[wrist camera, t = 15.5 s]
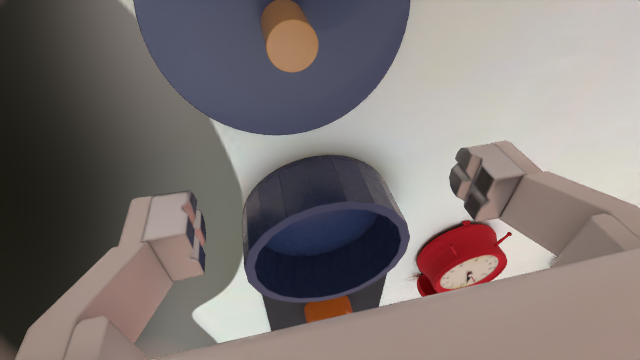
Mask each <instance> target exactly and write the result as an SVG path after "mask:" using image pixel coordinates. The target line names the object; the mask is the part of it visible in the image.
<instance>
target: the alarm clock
mask: <svg viewBox="0 0 640 360" xmlns="http://www.w3.org/2000/svg"><path fill="white" fill-rule="evenodd" d="M462 223H463V226H462V227H458V228H455V229H453V230H450V231H448V232H446V233H444V234H442V235H440V236H439V237H437V238H436V239H434V240H433V241H431V242H430V243H429V244H428V245H427V246H426V247H425V248H424V249H423V250H422V251H421V253H420V254H419V256H418V258H417V266H418V268H419V270H420V271H421V272H422V273H423V274H422V275H421V276H420V277H419V278H418V280H417V288H418V291H419V293H420V294H421V296H422V297H425V296H429V295H433V294H438V293H442V292H447V291H451V290H455V289H460V288H464V287H469V286H473V285H478V284H482V283H486V282H490V281H491V280H493V279H494V278H496V277H497V276H498V275H499V274H500V273H501V272H502V271H503V270H504V268H505V267H506V265H507V259H506V255H505V254H504V252H503V251H502V250H501V249H500V247H499V246H498V245H499V244H500V243H501V242H502V241H503V240H504V239H505V238H507V237H508V236H511V235H512V234H511V233H510V232H508V233H507V235H506V236H505V237H503V238H502V239H500V240H499V241H498V242H497V237H496V233H495V232H494V230H493V229H492V228H491V227H489V226H487V225H483V224H471V225H470V223H471V222H470V221H469V220H468V221H463V222H462Z"/></svg>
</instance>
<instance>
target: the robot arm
mask: <svg viewBox="0 0 640 360" xmlns="http://www.w3.org/2000/svg"><path fill="white" fill-rule="evenodd" d="M455 159H456V161H457V162H458V163H457V164H456V165H455V166H454V167H453V168H452V169H451V173H450V176H449V179H450V186H451V189H452V191H453V193H454V194H455V195H456V197H458V198H460V199H462V200H464V208H465V209H466V210H467V212H468V213H469V214H470V216H471V217H472V218H473V220H474V221H475V222H478V221H484V220H490V219H496V218H500V220H502V221H503V222H505V223H506V224H508V225H509V226H511V227H513V228H514V229H516V230H517V231H519V232H520V233H522V234H524V235H525V236H527V237H528V238H530V239H531V240H533V241H535V242H536V243H538V244H539V245H541V246H542V247H544V248H546V249H547V250H549V251H550V252H552V253H553V254H555V255H556V256H558V257H557V258H556V259H555V261H554V262H553V263H552V264H551V266H550V268H548V269H544V270H539V271H535V272H531V273H526V274H522V275H517V276H513V277H508V278H504V279H500V280H495V281H491V282H486V283H482V284H478V285H473V286H469V287H464V288H460V289H455V290H451V291H447V292H442V293H438V294H433V295H429V296H425V297H420V298H416V299H411V300H407V301H403V302H398V303H394V304H389V305H385V306H381V307H376V308H372V309H368V310H363V311H359V312H354V313H350V314H346V315H341V316H337V317H332V318H328V319H324V320H319V321H315V322H310V323H306V324H302V325H297V326H293V327H288V328H284V329H280V330H275V331H271V332H266V333H262V334H258V335H253V336H249V337H245V338H240V339H236V340H231V341H227V342H223V343H218V344H214V345H209V346H205V347H201V348H196V349H192V350H188V351H183V352H179V353H174V354H170V355H165V356H161V357H157V358H152V359H148V358H147V357H146V356H145V355H144V354H142V352H141V351H140V350H139V349H137V347H136V346H135V345H134V343H135V341H136V340H137V338H138V336H139V335H140V334H141V332H142V330H143V329H144V327H145V326H146V324H147V323H148V321H149V319H150V318H151V317H152V315H153V314H154V312H155V310H156V309H157V307H158V306H159V304H160V303H161V301H162V300H163V298H164V296H165V295H166V293H167V292H168V290H169V289H170V287H171V286H172V284H173V282H174V281H178V280H183V279H187V278H192V277H196V276H200V275H204V271H205V253H204V251H203V248H202V246H203V245H204V243H205V242H206V229H205V222H204V218H203V215H202V212H201V211H200V210H199V209H197V208H196V205H197V199H196V197H195V195H194V192H193V191H183V192H175V193H168V194H161V195H154V196H148V197H140V198H135V199H133V200H132V201H131V203H130V207H129V210H128V214H127V217H126V221H125V225H124V228H123V231H122V235H121V239H120V242H119V246H118V247H114V248H112V249H110V250H109V251H108V252H107V253H106V254H105V255H104V256H103V257H102V258H101V259H100V260H99V261H98V262H97V263H96V264H95V265H94V266H93V267H92V268H91V269H90V270H89V271H88V272H87V273H86V274H85V275H83V276H82V277H81V278H80V279H79V280H78V281H77V282H76V283H75V284H74V285H73V286H72V287H71V288H70V289H69V290H68V291H67V292H66V293H65V294H64V295H63V296H62V297H61V298H60V299H59V300H58V301H57V302H56V303H54V305H52V306H51V307H50V308H49V309H48V310H47V311H46V312H45V313H44V314H43V315H42V316H41V317H40V318H39V319H38V320H37V321H36V322H35V323H34V324H33V325H32V326H31V327H30V328H29V329H28V331H27V333H26V336H25V338H24V340H23V343H22V345H21V347H20V350H19V352H18V354H17V356H16V359H15V360H640V209H639V208H638V207H637V206H635V205H633V204H630V203H628V202H625V201H622V200H620V199H617V198H615V197H612V196H610V195H607V194H604V193H602V192H599V191H597V190H594V189H592V188H589V187H587V186H584V185H581V184H579V183H576V182H574V181H571V180H569V179H566V178H563V177H561V176H558V175H556V174H553V173H551V172H548V171H547V172H543V171H542V170H541V169H539V168H538V167H537V166H536V165H535V164H534V163H533V162H532V161H531V160H529V159H528V158H527V157H526V156H525V155H524V154H523V153H522V152H521V151H519V150H518V149H517V148H516V147H515V146H514V145H513V144H512V143H510V142H508V141H500V142H494V143H490V144H484V145H478V146H472V147H465V148H461V149H460V150H459V151H458V152H457V155H456V158H455Z"/></svg>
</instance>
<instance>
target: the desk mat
mask: <svg viewBox="0 0 640 360" xmlns="http://www.w3.org/2000/svg"><path fill="white" fill-rule="evenodd" d="M386 275H387V273H386V274H385V275H384V276H383V277H381V278H380V279H379V280H377V281H375V282H374V283H372V284H370V285H368V286H366V287H365V288H363V289H360V290H359V291H356V292H353V293H350V294H348V295H346V296H348V297H349V300H350V303H351V306H352V310H353V313H354V312H359V311H363V310H368V309H372V308H376V307H379V303H380V299H381V295H382V291H383V287H384V283H385V279H386ZM262 296H263V300H264V304H265V308H266V312H267V315H268V319H269V323H270V327H271V331H275V330H280V329H284V328H288V327H293V326H297V325H302V324H306V319H305V314H304V308H305V306H306V304H307V303H308V302H300V303H295V302H287V301H280V300H275V299H273V298H270V297H268V296H266V295H263V294H262Z"/></svg>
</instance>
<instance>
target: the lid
mask: <svg viewBox="0 0 640 360" xmlns="http://www.w3.org/2000/svg"><path fill="white" fill-rule="evenodd" d="M133 1H134V7H135V13H136V17H137V20H138V24H139V27H140V30H141V34H142V36H143V39H144V41H145V43H146V46H147V48H148V50H149V52H150V54H151V56H152V58H153V59H154V61H155V63H156V65H157V66H158V68H159V70H160V71H161V72H162V74H163V75H164V76H165V78H166V79H167V80H168V82H169V83H170V84H171V85H172V86H173V87H174V88H175V90H176V91H177V92H178V93H179V94H180V95H181V96H183V98H184V99H186V100H187V101H188V102H189V103H190V104H192V105H193V106H194V107H195V108H196V109H198V110H200V111H201V112H202V113H204V114H205V115H207V116H208V117H210V118H212V119H214V120H216V121H218V122H220V123H222V124H224V125H227V126H230V127H232V128H235V129H238V130H242V131H246V132H250V133H256V134H263V135H289V134H296V133H302V132H307V131H310V130H313V129H317V128H320V127H322V126H324V125H327V124H329V123H331V122H333V121H335V120H337V119H339V118H341V117H342V116H344V115H345V114H347V113H348V112H350V111H351V110H353V109H354V108H355V107H356V106H358V105H359V104H360V103H361V102H362V101H363V100H365V99H366V98H367V97H368V95H369V94H370V93H371V92H372V91H373V90H374V89H375V88H376V87H377V85H378V84H379V83H380V81H381V80H382V79H383V77H384V76H385V74H386V73H387V71H388V69H389V68H390V66H391V64H392V63H393V61H394V59H395V56H396V54H397V52H398V50H399V48H400V45H401V42H402V39H403V36H404V33H405V30H406V25H407V21H408V16H409V9H410V0H133Z"/></svg>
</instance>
